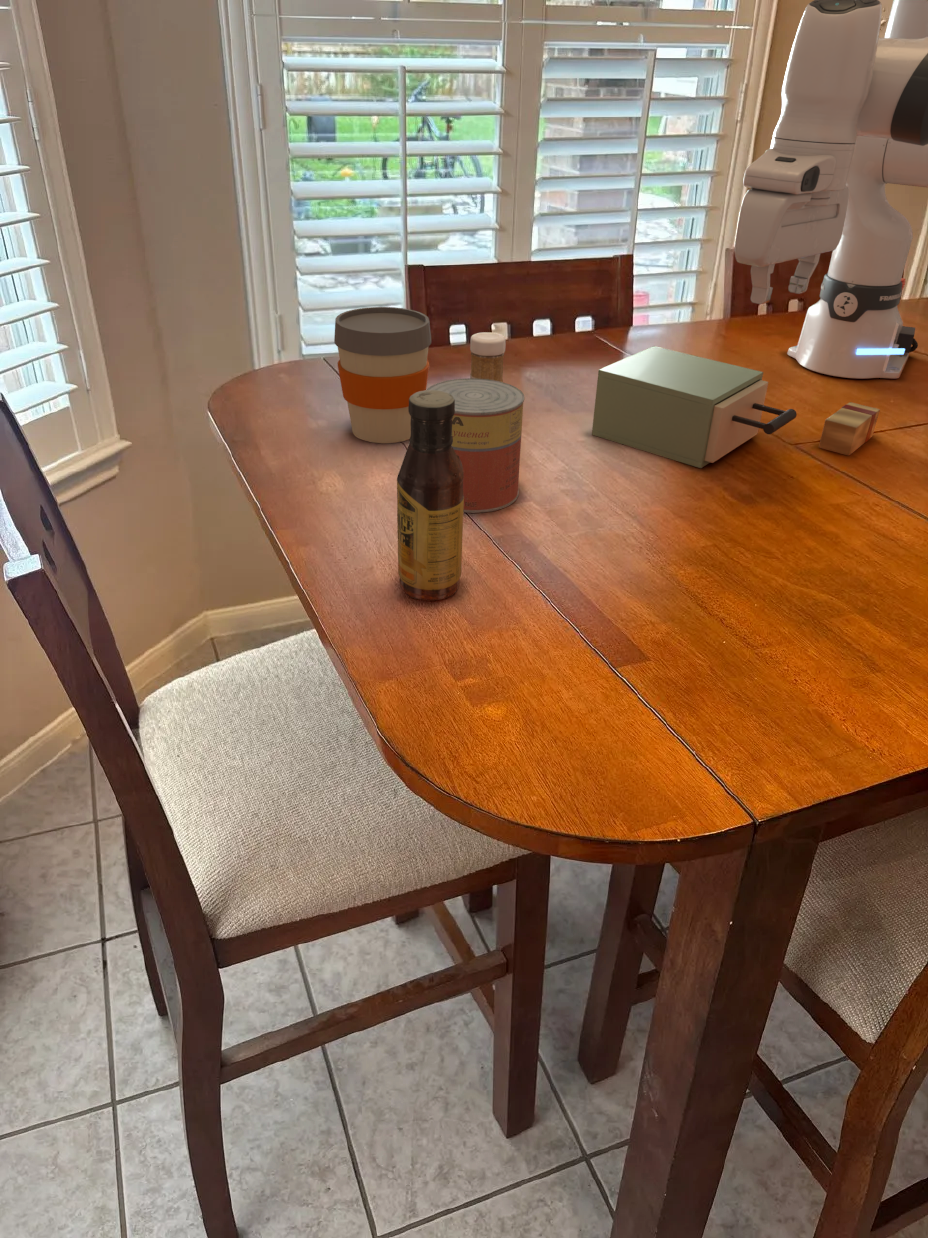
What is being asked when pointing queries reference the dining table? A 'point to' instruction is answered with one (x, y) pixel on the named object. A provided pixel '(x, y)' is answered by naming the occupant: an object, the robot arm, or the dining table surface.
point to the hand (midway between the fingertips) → (778, 297)
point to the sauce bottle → (430, 501)
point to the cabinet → (665, 401)
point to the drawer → (742, 420)
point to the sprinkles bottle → (487, 356)
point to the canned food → (486, 440)
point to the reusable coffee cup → (382, 368)
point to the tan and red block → (849, 428)
